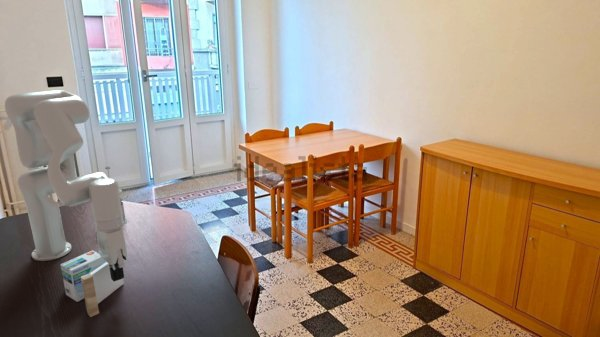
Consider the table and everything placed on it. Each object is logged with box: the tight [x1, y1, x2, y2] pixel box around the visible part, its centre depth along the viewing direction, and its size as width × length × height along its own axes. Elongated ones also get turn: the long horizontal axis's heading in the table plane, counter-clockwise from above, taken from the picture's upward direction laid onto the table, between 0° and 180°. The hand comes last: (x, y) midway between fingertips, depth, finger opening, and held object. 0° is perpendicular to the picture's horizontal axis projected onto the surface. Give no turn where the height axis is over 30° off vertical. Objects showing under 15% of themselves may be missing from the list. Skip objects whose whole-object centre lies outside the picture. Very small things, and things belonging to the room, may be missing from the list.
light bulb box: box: [60, 249, 106, 303], centre depth 129 cm, size 11×7×11 cm, turn 146°
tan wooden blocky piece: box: [81, 273, 100, 318], centre depth 124 cm, size 20×2×12 cm, turn 44°
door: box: [90, 261, 125, 305], centre depth 126 cm, size 14×1×10 cm, turn 162°
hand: (117, 278), depth 124 cm, fingers closed
